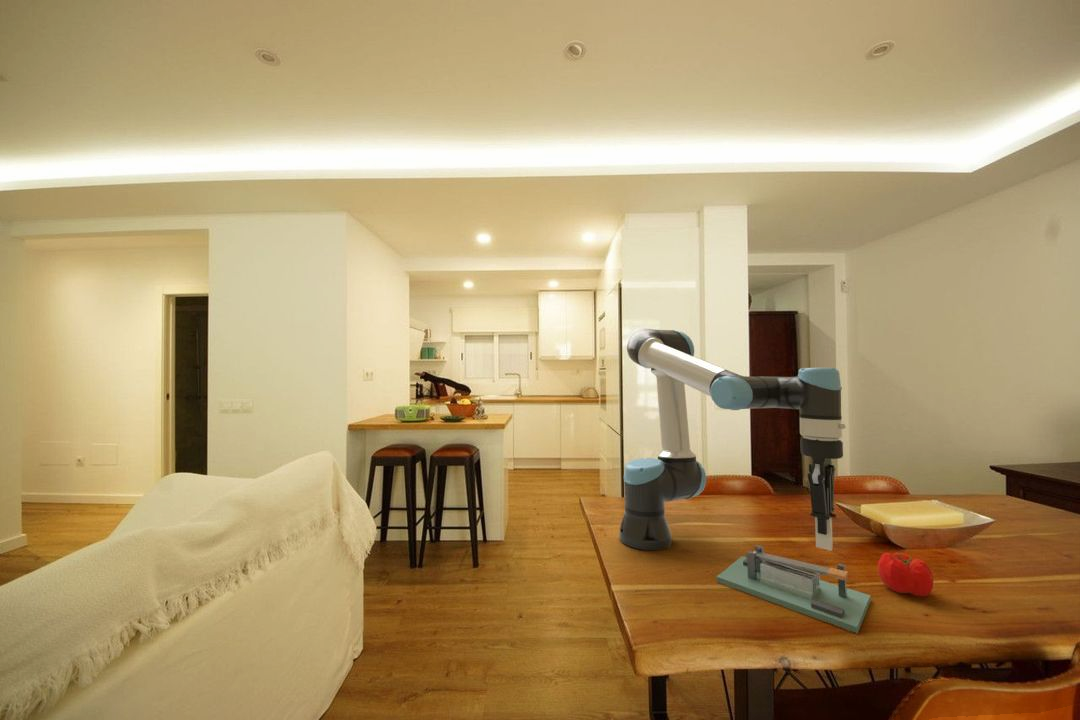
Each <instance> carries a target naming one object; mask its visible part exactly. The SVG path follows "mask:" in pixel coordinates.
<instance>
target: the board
mask: <svg viewBox="0 0 1080 720" xmlns="http://www.w3.org/2000/svg"><path fill="white" fill-rule="evenodd" d="M760 577H761V572H758V571H757V579H756V580H753V579H751V578H748V567H747V556H742V555H741V556H740V557H739V558H738V559H736V560H735V561H734V562H733V563H732V564H730V565H729V566H728V567H727V568H726V569H723V571H722V572H721V573H719V574H718V575H717V576H716V582H717V583H720V584H722V585H724V586H727V587H730V588H732V589H735V590H738V591H739V592H740V591H741V592H744V593H746V594H749V595H752V596H753V597H754V596H755V597H756V598H760V599H762V600H765V601H767V602H770V603H773V604H776V605H779V606H780V607H783V608H786V609H790V610H792V611H794V612H797V613H800V614H803V615H806V616H809V617H811V618H813V619H816V620H819V621H822V622H824V623H827V622H828V623H827V624H830V623H831V624H830V625H832V624H834V625H833V626H835V625H836V626H835V627H838V626H839V627H838V628H840V627H842V628H841V629H843V628H844V629H843V630H846V629H847V630H846V631H849V632H851V631H852V633H854V632H855V633H854V634H857V633H858V634H859V632H860V629H861V626H862V624H863V622H864V619H865V616H866V614H867V611H868V609H869V607H870V604H871V599H872V598H871V595H870V594H867V593H863V592H861V591H857V590H854V589H852V588H848V587H846V588H847V597H846V598H844V597H841V596H839V590H838V584H835V583H831V582H828V581H824V580H821V579H820V590H819V591H818V593H817V594H816V596H815V597H814V599H813V600H809V599H807V598H804V597H801V596H798V595H795V594H792V593H789V592H786V591H783V590H780V589H777V588H774V587H772V586H769V585H766V584H763V583H760ZM858 631H859V632H858Z"/></svg>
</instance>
